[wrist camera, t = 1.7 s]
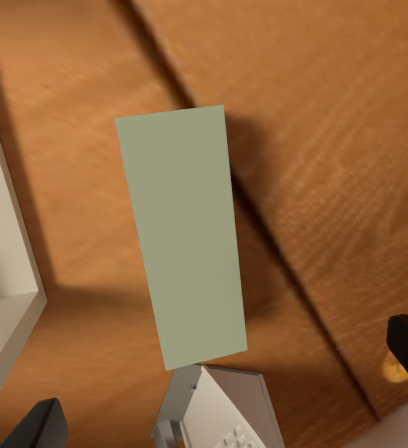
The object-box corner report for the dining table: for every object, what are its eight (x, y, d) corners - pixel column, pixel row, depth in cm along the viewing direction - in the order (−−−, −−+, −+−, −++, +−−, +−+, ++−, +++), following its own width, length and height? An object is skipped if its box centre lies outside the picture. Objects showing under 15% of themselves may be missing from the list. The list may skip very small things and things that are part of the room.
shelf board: (228, 313, 22) (247, 350, 19) (160, 329, 22) (165, 371, 18) (205, 110, 18) (223, 104, 14) (119, 121, 17) (114, 117, 13)
